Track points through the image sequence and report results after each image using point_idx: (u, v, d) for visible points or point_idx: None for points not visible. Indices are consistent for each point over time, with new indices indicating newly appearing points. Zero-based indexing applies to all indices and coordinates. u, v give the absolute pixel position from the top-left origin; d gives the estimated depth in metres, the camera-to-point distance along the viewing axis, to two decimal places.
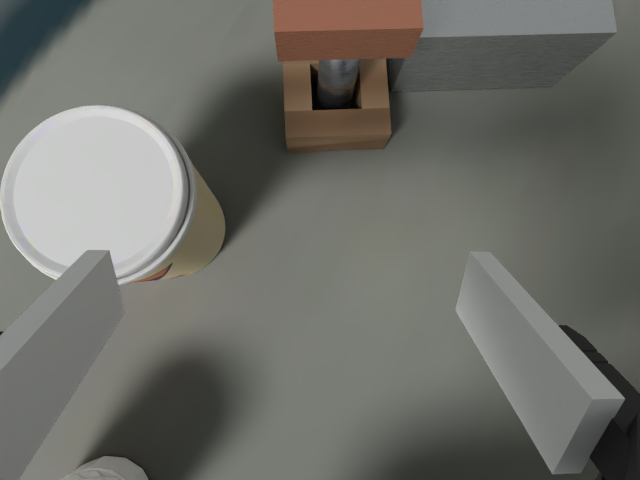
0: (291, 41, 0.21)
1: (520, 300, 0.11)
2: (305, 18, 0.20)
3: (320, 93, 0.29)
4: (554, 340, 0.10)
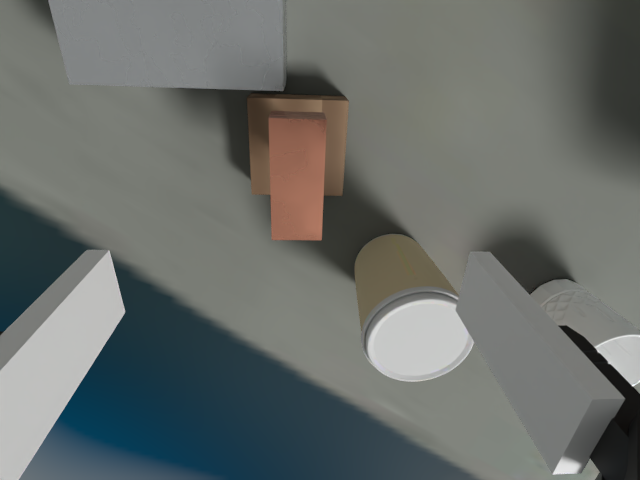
0: None
1: (520, 300, 0.11)
2: (311, 217, 0.25)
3: None
4: (554, 340, 0.10)
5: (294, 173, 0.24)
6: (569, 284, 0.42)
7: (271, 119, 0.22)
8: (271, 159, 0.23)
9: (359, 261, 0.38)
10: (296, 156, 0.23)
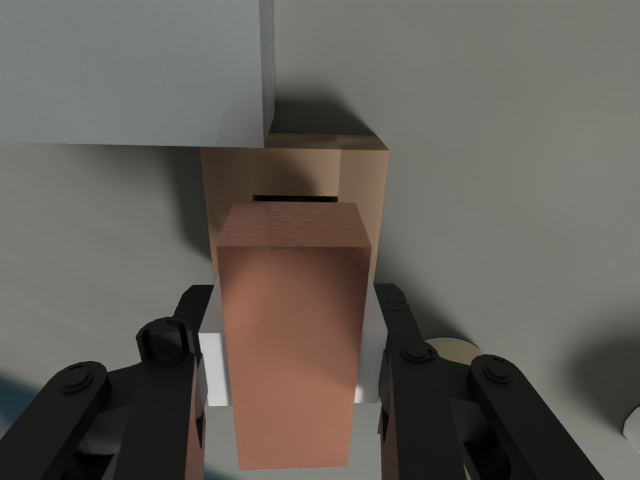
0: None
1: None
2: (326, 433, 0.11)
3: None
4: None
5: (288, 359, 0.10)
6: None
7: (224, 249, 0.08)
8: (229, 333, 0.09)
9: None
10: (291, 325, 0.09)
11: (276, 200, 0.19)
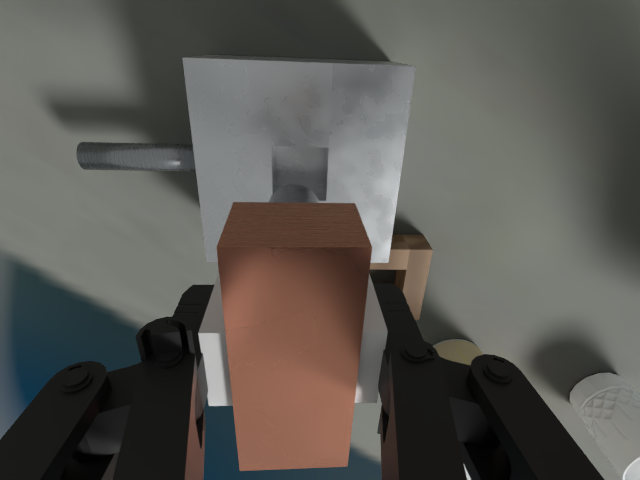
0: None
1: None
2: (326, 433, 0.11)
3: None
4: None
5: (289, 359, 0.10)
6: (613, 379, 0.46)
7: (224, 250, 0.08)
8: (230, 334, 0.09)
9: None
10: (292, 326, 0.09)
11: (274, 200, 0.18)
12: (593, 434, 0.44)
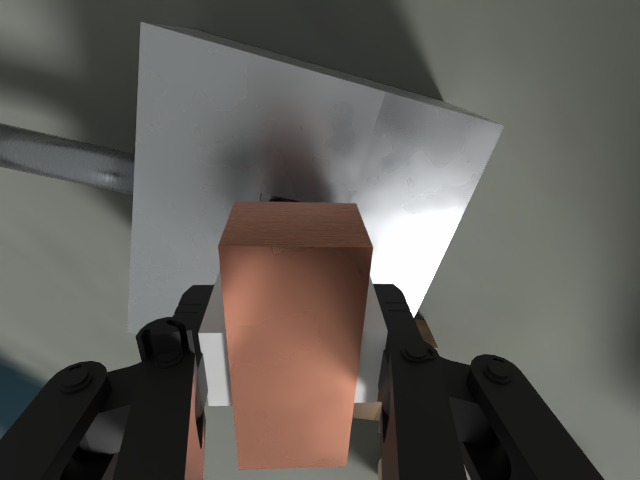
0: None
1: None
2: (325, 432, 0.11)
3: None
4: None
5: (288, 358, 0.10)
6: None
7: (225, 249, 0.08)
8: (230, 333, 0.09)
9: None
10: (292, 325, 0.09)
11: (275, 200, 0.19)
12: None
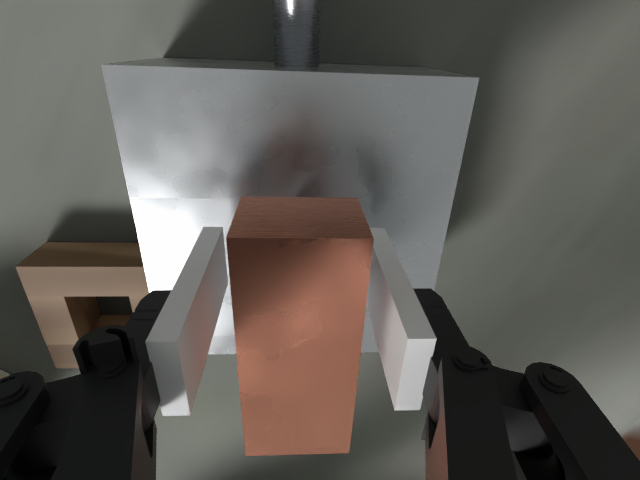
0: None
1: (389, 266, 0.13)
2: (329, 419, 0.12)
3: None
4: (401, 296, 0.11)
5: (293, 347, 0.10)
6: None
7: (233, 240, 0.09)
8: (238, 321, 0.10)
9: None
10: (297, 314, 0.10)
11: None
12: None
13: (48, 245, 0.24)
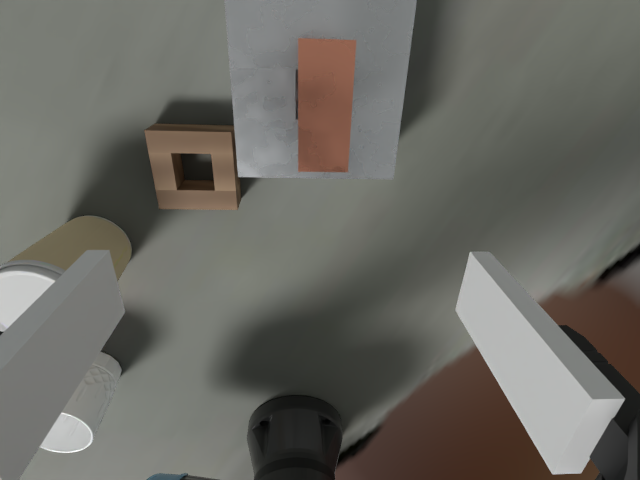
0: None
1: (520, 300, 0.11)
2: (338, 147, 0.25)
3: None
4: (554, 340, 0.10)
5: (323, 99, 0.23)
6: (118, 374, 0.53)
7: (301, 39, 0.22)
8: (299, 83, 0.23)
9: (95, 223, 0.41)
10: (324, 80, 0.23)
11: None
12: None
13: (157, 124, 0.37)
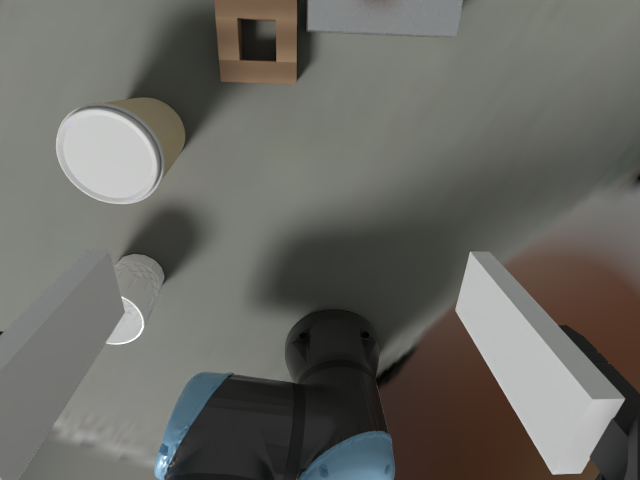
0: None
1: (520, 300, 0.11)
2: None
3: None
4: (554, 340, 0.10)
5: None
6: (162, 279, 0.53)
7: None
8: None
9: (155, 101, 0.41)
10: None
11: None
12: None
13: None
